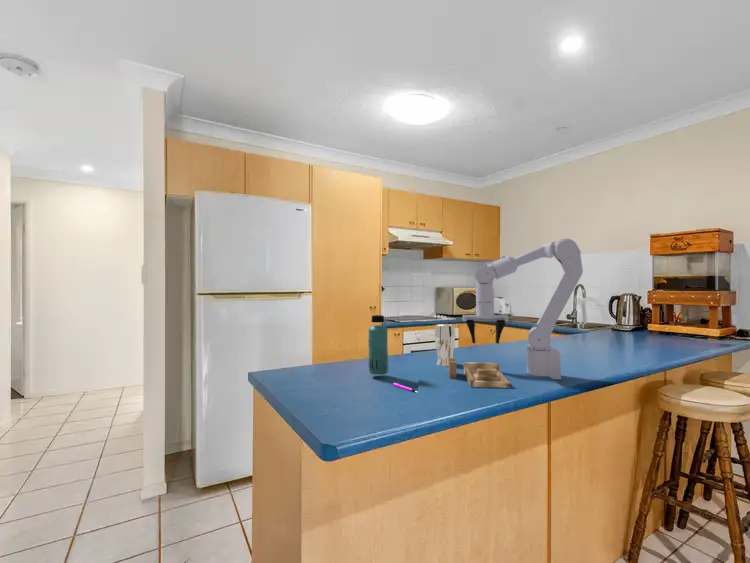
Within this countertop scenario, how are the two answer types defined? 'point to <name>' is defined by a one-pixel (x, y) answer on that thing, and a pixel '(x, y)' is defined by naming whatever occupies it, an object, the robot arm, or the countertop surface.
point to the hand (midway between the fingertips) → (485, 342)
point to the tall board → (452, 368)
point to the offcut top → (486, 372)
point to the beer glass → (444, 343)
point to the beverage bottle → (378, 347)
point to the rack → (471, 373)
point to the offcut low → (488, 378)
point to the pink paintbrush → (404, 387)
